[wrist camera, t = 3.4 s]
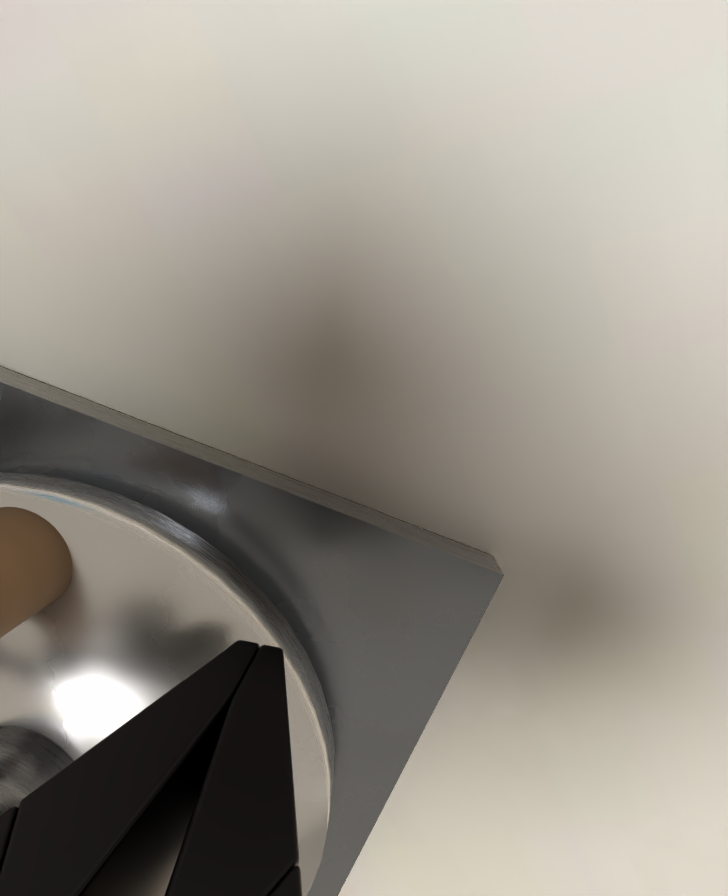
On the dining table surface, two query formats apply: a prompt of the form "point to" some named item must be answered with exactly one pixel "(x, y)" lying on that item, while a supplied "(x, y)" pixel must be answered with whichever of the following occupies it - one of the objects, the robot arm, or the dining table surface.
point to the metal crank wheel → (129, 636)
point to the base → (290, 580)
